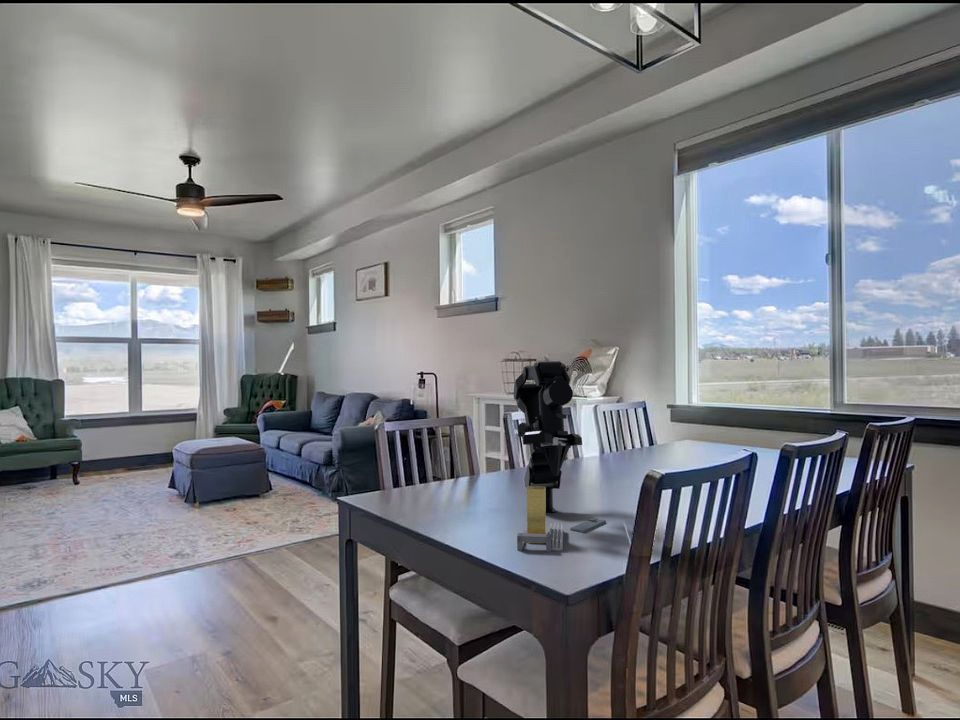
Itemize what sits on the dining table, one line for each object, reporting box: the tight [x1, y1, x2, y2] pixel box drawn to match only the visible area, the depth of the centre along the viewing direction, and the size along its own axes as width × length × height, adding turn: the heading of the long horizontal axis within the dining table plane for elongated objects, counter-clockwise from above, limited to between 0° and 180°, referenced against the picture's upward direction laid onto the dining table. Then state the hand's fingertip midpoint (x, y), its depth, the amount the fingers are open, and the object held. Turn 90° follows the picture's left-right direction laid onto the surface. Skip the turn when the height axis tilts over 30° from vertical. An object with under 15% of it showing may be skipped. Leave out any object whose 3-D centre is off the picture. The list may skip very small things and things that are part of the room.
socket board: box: [516, 522, 564, 553], centre depth 128 cm, size 16×12×4 cm
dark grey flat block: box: [569, 517, 607, 534], centre depth 138 cm, size 4×10×2 cm, turn 140°
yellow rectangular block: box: [526, 486, 547, 544], centre depth 129 cm, size 6×4×11 cm, turn 171°
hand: (555, 475), depth 141 cm, fingers closed
